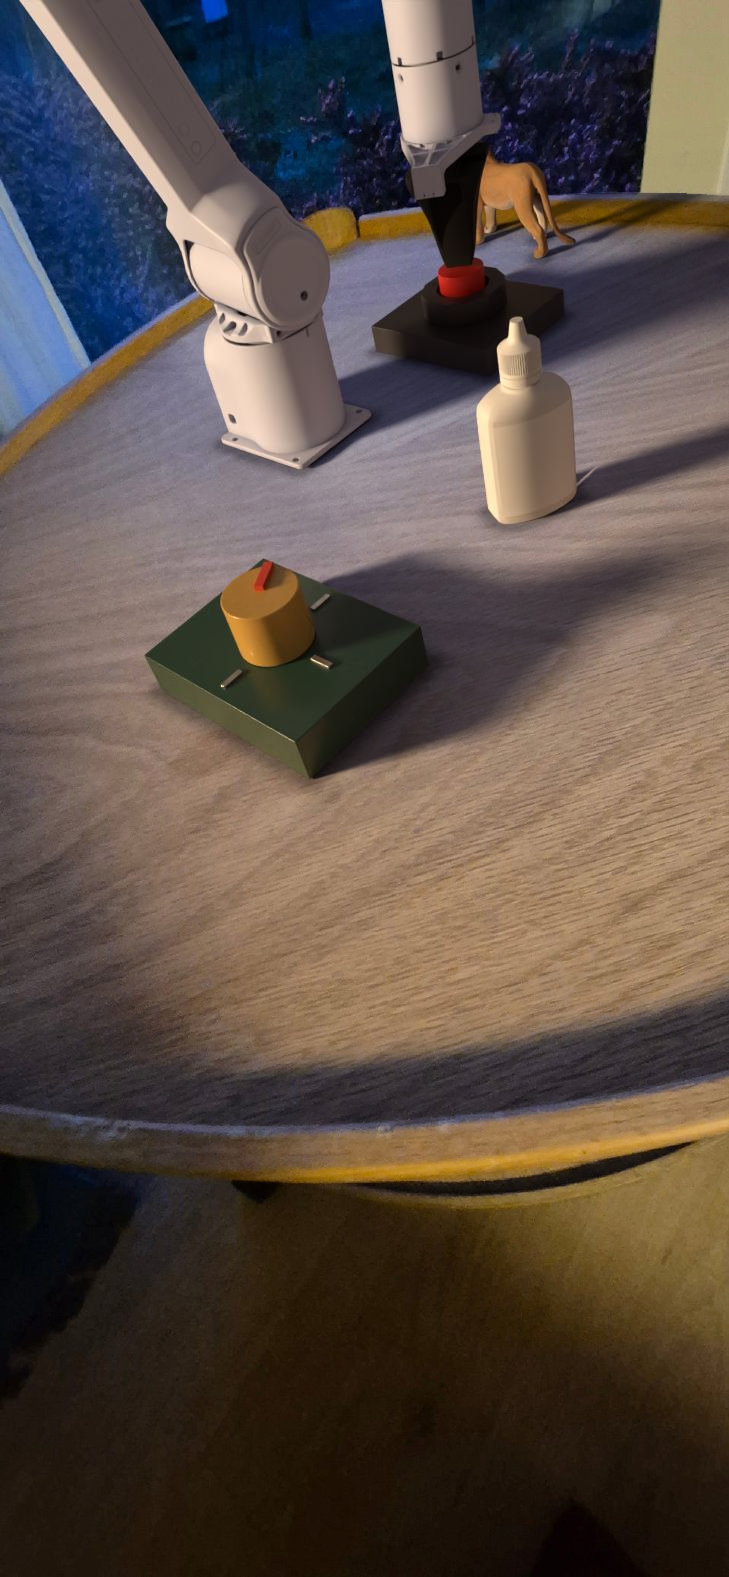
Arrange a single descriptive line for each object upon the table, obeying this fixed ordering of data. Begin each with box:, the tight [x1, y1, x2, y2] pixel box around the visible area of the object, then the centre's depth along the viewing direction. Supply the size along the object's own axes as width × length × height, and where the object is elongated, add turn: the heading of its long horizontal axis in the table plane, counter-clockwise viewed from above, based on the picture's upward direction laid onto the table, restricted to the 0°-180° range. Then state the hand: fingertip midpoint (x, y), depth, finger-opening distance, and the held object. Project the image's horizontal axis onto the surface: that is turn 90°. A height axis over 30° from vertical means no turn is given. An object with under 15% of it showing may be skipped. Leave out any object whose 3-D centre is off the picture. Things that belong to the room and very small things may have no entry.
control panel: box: [143, 558, 430, 780], centre depth 54 cm, size 13×10×3 cm
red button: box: [437, 256, 486, 298], centre depth 74 cm, size 4×4×2 cm
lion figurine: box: [476, 140, 577, 259], centre depth 84 cm, size 15×5×9 cm, turn 50°
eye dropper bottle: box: [476, 317, 578, 525], centre depth 57 cm, size 4×6×12 cm
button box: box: [371, 265, 566, 378], centre depth 76 cm, size 12×10×4 cm
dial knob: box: [221, 561, 315, 667], centre depth 52 cm, size 4×4×4 cm
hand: (460, 263), depth 73 cm, fingers closed
